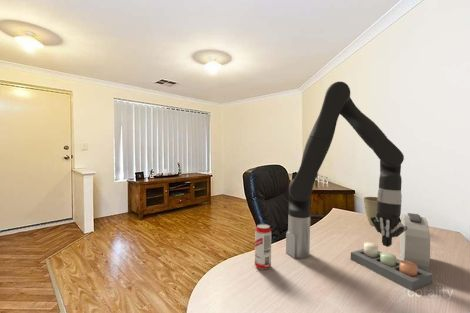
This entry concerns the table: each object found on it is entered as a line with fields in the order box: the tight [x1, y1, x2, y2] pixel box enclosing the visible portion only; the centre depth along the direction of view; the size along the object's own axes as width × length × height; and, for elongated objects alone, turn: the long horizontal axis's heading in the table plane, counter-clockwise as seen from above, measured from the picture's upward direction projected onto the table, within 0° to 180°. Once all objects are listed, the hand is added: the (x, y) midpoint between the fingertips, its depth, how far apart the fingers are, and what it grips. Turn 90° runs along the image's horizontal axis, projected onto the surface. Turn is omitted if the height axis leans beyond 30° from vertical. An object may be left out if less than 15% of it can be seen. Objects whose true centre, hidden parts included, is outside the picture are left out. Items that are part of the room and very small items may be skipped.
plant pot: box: [363, 196, 378, 227], centre depth 139 cm, size 15×15×16 cm
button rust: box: [399, 259, 417, 278], centre depth 81 cm, size 5×5×4 cm
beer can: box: [254, 223, 272, 271], centre depth 88 cm, size 6×6×16 cm
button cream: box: [363, 242, 379, 258], centre depth 93 cm, size 5×5×4 cm
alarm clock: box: [399, 212, 431, 272], centre depth 93 cm, size 21×8×20 cm, turn 148°
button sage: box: [380, 251, 397, 267], centre depth 87 cm, size 5×5×4 cm
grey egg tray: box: [350, 248, 434, 292], centre depth 87 cm, size 12×23×3 cm, turn 24°
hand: (386, 245), depth 87 cm, fingers closed
